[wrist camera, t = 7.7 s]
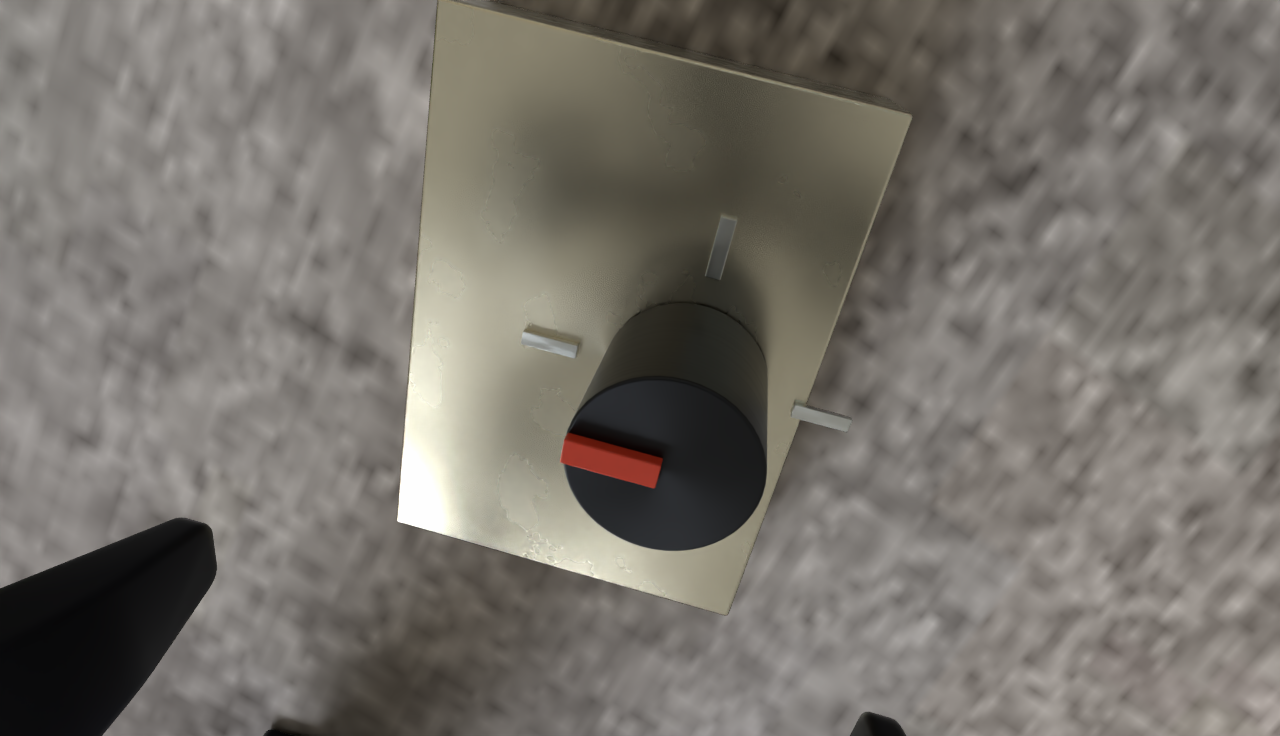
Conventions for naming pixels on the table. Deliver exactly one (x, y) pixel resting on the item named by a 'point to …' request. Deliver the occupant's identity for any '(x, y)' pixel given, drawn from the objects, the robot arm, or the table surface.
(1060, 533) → the table surface
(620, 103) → the silver flat block
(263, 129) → the table surface
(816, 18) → the table surface
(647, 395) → the knob
